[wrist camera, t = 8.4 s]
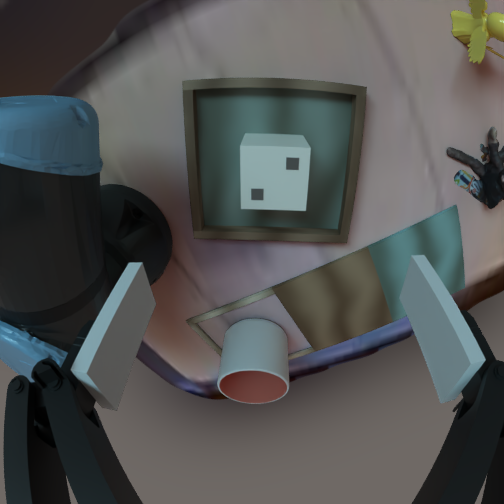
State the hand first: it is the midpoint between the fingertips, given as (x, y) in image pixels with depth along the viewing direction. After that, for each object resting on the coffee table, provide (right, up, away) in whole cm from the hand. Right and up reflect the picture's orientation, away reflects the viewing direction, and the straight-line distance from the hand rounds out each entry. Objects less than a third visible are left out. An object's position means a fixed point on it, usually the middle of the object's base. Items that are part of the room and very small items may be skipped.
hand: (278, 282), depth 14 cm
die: (+1, +11, +17) cm, 20 cm away
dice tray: (+1, +11, +17) cm, 21 cm away
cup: (-1, -12, +33) cm, 35 cm away
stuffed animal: (+30, +13, +15) cm, 36 cm away
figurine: (+26, +27, +5) cm, 38 cm away
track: (+11, -7, +28) cm, 31 cm away
